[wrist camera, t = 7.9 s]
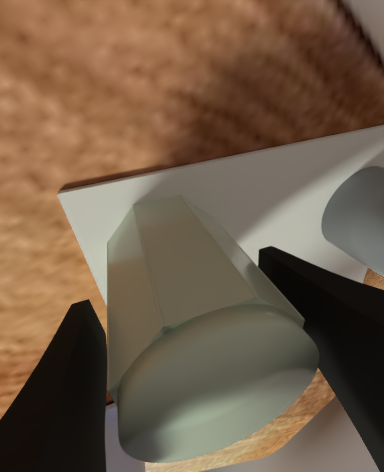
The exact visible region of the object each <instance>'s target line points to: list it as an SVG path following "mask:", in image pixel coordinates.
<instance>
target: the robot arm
mask: <svg viewBox="0 0 384 472" xmlns="http://www.w3.org/2000/svg"><path fill="white" fill-rule="evenodd" d="M258 267H259V268H260V270H261V271H262V272H263V273H264V274H265V275H266V276H267V277H268V279H269V280H270V281H271V282H272V283H273V284H274V285H275V286H276V288H277V289H278V290H279V291H280V292H281V293H282V294H283V295H284V297H285V298H286V299H287V300H288V301H289V302H290V303H291V304H292V306H293V307H294V308H295V309H296V310H297V311H298V312H299V313H300V314H301V316H302V317H303V318H304V319H305V321H304V325H303V329H304V331H305V332H306V333H307V334H308V335H309V336H310V338H311V339H312V340H313V341H314V342H315V344H316V346H317V348H318V351H319V364H318V368H319V369H320V371H321V373H322V374H323V376H324V377H325V379H326V380H327V382H328V383H329V385H330V387H331V388H332V390H333V391H334V393H335V394H336V396H337V397H338V399H339V401H340V402H341V404H342V406H343V407H344V409H345V411H346V412H347V414H348V416H349V417H350V419H351V421H352V423H353V424H354V426H355V427H356V429H357V431H358V433H359V434H360V436H361V438H362V440H363V442H364V443H365V445H366V447H367V449H368V451H369V452H370V454H371V456H372V458H373V459H374V461H375V463H376V465H377V467H378V469H379V471H380V472H384V290H381V289H378V288H375V287H372V286H369V285H366V284H363V283H360V282H357V281H354V280H351V279H349V278H346V277H344V276H341V275H338V274H336V273H333V272H331V271H328V270H326V269H323V268H321V267H319V266H316V265H314V264H312V263H309V262H307V261H305V260H303V259H300V258H298V257H296V256H294V255H292V254H289V253H287V252H285V251H283V250H280V249H278V248H276V247H273V246H269V247H265V248H262V249H259V256H258ZM106 388H107V345H106V334H105V331H104V329H103V327H102V325H101V323H100V321H99V319H98V317H97V315H96V313H95V311H94V309H93V307H92V305H91V303H90V301H89V299H88V300H85V301H81V302H78V303H74V304H72V305H71V307H70V308H69V310H68V312H67V314H66V315H65V317H64V319H63V321H62V323H61V325H60V326H59V328H58V330H57V332H56V334H55V335H54V337H53V339H52V341H51V342H50V344H49V346H48V348H47V349H46V351H45V353H44V354H43V356H42V358H41V359H40V361H39V363H38V364H37V366H36V368H35V369H34V371H33V372H32V374H31V375H30V377H29V378H28V380H27V382H26V383H25V385H24V386H23V388H22V389H21V391H20V392H19V394H18V395H17V397H16V398H15V400H14V401H13V403H12V404H11V406H10V407H9V409H8V410H7V411H6V413H5V414H4V416H3V417H2V418H1V420H0V472H145V463H144V461H140V460H137V459H135V458H132V457H131V456H129V455H128V454H126V453H125V451H124V450H123V449H122V448H121V445H120V443H119V437H118V413H117V406H116V404H115V403H113V404H110V405H107V406H106Z"/></svg>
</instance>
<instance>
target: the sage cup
mask: <svg viewBox="0 0 384 472" xmlns="http://www.w3.org/2000/svg"><path fill="white" fill-rule="evenodd" d="M304 321H305V319H304V318H303V317H302V316H301V314H300V313H299V312H298V311H297V310H296V309H295V308H294V307H293V306H292V304H291V303H290V302H289V301H288V300H287V299H286V298H285V297H284V295H283V294H282V293H281V292H280V291H279V290H278V289H277V288H276V286H275V285H274V284H273V283H272V282H271V281H270V280H269V279H268V277H267V276H266V275H265V274H264V273H263V272H262V271H261V270H260V268H259V267H258V266H257V265H256V264H255V263H254V262H253V261H252V260H251V258H250V257H249V256H248V255H247V254H246V253H245V252H244V251H243V249H242V248H241V247H240V246H239V245H238V244H237V243H236V242H235V240H234V239H233V238H232V237H231V236H230V235H229V234H228V233H227V231H226V230H225V229H224V228H223V227H222V226H221V225H220V224H219V222H218V221H217V220H216V219H215V218H214V217H212V216H211V215H209V214H208V213H206V212H205V211H203V210H202V209H200V208H199V207H197V206H196V205H194V204H193V203H191V202H190V201H188V200H187V199H185V198H184V197H182V196H181V195H178V196H174V197H169V198H164V199H160V200H155V201H150V202H146V203H141V204H136V205H132V207H131V209H130V210H129V212H128V213H127V214H126V216H125V217H124V219H123V220H122V222H121V223H120V225H119V226H118V228H117V229H116V231H115V232H114V234H113V235H112V236H111V238H110V239H109V241H108V242H107V392H108V393H109V394H110V395H111V397H112V399H113V401H114V402H115V404H116V406H117V413H118V437H119V443H120V445H121V448H122V449H123V450H124V451H125V453H126V454H128V455H129V456H131V457H132V458H135V459H137V460H140V461H145V462H152V463H168V462H177V461H183V460H188V459H192V458H196V457H200V456H203V455H206V454H209V453H212V452H215V451H217V450H220V449H223V448H225V447H227V446H230V445H232V444H234V443H236V442H238V441H240V440H242V439H244V438H246V437H248V436H249V435H251V434H253V433H255V432H256V431H258V430H260V429H261V428H263V427H264V426H266V425H267V424H269V423H270V422H271V421H273V420H274V419H276V418H277V417H278V416H279V415H281V414H282V413H283V412H284V411H285V410H287V409H288V408H289V407H290V406H291V405H292V404H293V403H294V402H295V401H296V400H297V399H298V398H299V397H300V396H301V395H302V393H303V392H304V391H305V390H306V388H307V387H308V386H309V384H310V383H311V381H312V379H313V377H314V376H315V373H316V371H317V368H318V364H319V351H318V348H317V346H316V344H315V342H314V341H313V340H312V339H311V338H310V336H309V335H308V334H307V333H306V332H305V331H304V329H303V325H304Z"/></svg>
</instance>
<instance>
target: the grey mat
mask: <svg viewBox="0 0 384 472" xmlns="http://www.w3.org/2000/svg"><path fill="white" fill-rule="evenodd" d="M371 166H380V167H384V125H380V126H375V127H370V128H365V129H360V130H355V131H351V132H346V133H341V134H336V135H331V136H326V137H321V138H316V139H311V140H306V141H301V142H297V143H292V144H287V145H282V146H277V147H272V148H267V149H262V150H257V151H252V152H248V153H243V154H238V155H233V156H228V157H223V158H218V159H213V160H208V161H203V162H198V163H194V164H189V165H184V166H179V167H174V168H169V169H164V170H159V171H154V172H149V173H145V174H140V175H135V176H130V177H125V178H120V179H115V180H110V181H105V182H100V183H95V184H91V185H86V186H81V187H76V188H71V189H66V190H61V191H58V193H57V195H58V198H59V200H60V202H61V204H62V207H63V209H64V211H65V213H66V216H67V218H68V220H69V222H70V225H71V227H72V229H73V231H74V234H75V236H76V238H77V240H78V243H79V245H80V247H81V249H82V252H83V254H84V256H85V258H86V261H87V263H88V265H89V267H90V270H91V272H92V274H93V276H94V279H95V281H96V283H97V285H98V288H99V290H100V292H101V294H102V297H103V299H104V301H105V303H106V306H107V242H108V241H109V239H110V238H111V236H112V235H113V234H114V232H115V231H116V229H117V228H118V226H119V225H120V223H121V222H122V220H123V219H124V217H125V216H126V214H127V213H128V212H129V210H130V209H131V207H132V205H136V204H141V203H146V202H150V201H155V200H160V199H164V198H169V197H174V196H178V195H181V196H182V197H184V198H185V199H187V200H188V201H190V202H191V203H193V204H194V205H196V206H197V207H199V208H200V209H202V210H203V211H205V212H206V213H208V214H209V215H211V216H212V217H214V218H215V219H216V220H217V221H218V222H219V224H220V225H221V226H222V227H223V228H224V229H225V230H226V231H227V233H228V234H229V235H230V236H231V237H232V238H233V239H234V240H235V242H236V243H237V244H238V245H239V246H240V247H241V248H242V249H243V251H244V252H245V253H246V254H247V255H248V256H249V257H250V258H251V260H252V261H253V262H254V263H255V264H256V265H257V266H258V256H259V249H262V248H265V247H269V246H273V247H276V248H278V249H280V250H283V251H285V252H287V253H289V254H292V255H294V256H296V257H298V258H300V259H303V260H305V261H307V262H309V263H312V264H314V265H316V266H319V267H321V268H323V269H326V270H328V271H331V272H333V273H336V274H338V275H341V276H344V277H346V278H349V279H351V280H354V281H357V282H360V283H363V280H364V277H365V275H366V272H367V269H368V267H366V266H365V265H363V264H362V263H360V262H359V261H357V260H356V259H354V258H352V257H351V256H349V255H348V254H346V253H345V252H343V251H342V250H340V249H339V248H337V247H336V246H334V245H333V244H331V243H330V242H328V241H327V240H326V239H325V238H324V236H323V234H322V229H321V222H322V216H323V213H324V210H325V207H326V205H327V203H328V201H329V200H330V198H331V196H332V195H333V194H334V192H335V191H336V190H337V188H338V187H339V186H340V185H341V184H342V183H343V182H344V181H345V180H346V179H348V178H349V177H350V176H351V175H353V174H354V173H356V172H358V171H360V170H362V169H364V168H367V167H371Z"/></svg>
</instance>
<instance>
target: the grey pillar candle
mask: <svg viewBox="0 0 384 472" xmlns="http://www.w3.org/2000/svg"><path fill="white" fill-rule="evenodd" d="M321 229H322V234H323V236H324V238H325V239H326V240H327V241H328V242H330V243H331V244H333V245H334V246H336V247H337V248H339V249H340V250H342V251H343V252H345V253H346V254H348V255H349V256H351V257H352V258H354V259H356V260H357V261H359V262H360V263H362V264H363V265H365V266H366V267H368V268H369V269H371V270H372V271H374V272H375V273H377V274H378V275H380V276H382V277H383V278H384V167H380V166H371V167H367V168H364V169H362V170H360V171H358V172H356V173H354V174H353V175H351V176H350V177H349V178H348V179H346V180H345V181H344V182H343V183H342V184H341V185H340V186H339V187H338V188H337V190H336V191H335V192H334V194H333V195H332V196H331V198H330V200H329V201H328V203H327V205H326V207H325V210H324V213H323V216H322V222H321Z"/></svg>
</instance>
